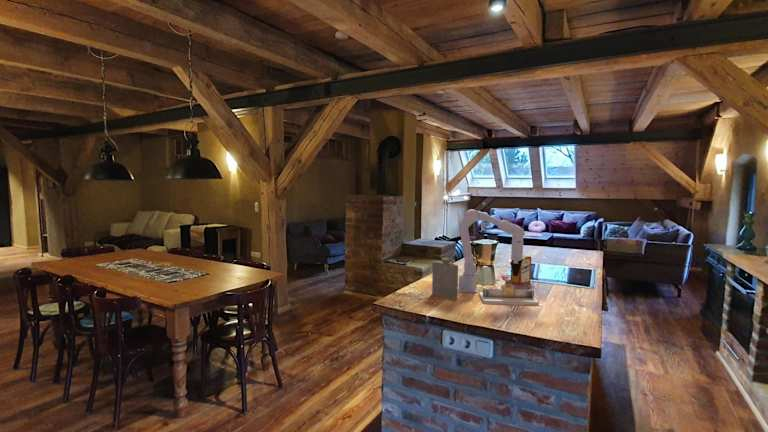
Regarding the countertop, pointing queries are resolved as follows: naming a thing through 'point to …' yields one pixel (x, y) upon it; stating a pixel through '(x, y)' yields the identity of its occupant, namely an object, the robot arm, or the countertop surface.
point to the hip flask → (445, 279)
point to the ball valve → (508, 292)
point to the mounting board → (508, 300)
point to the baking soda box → (523, 272)
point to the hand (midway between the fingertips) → (516, 274)
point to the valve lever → (506, 279)
